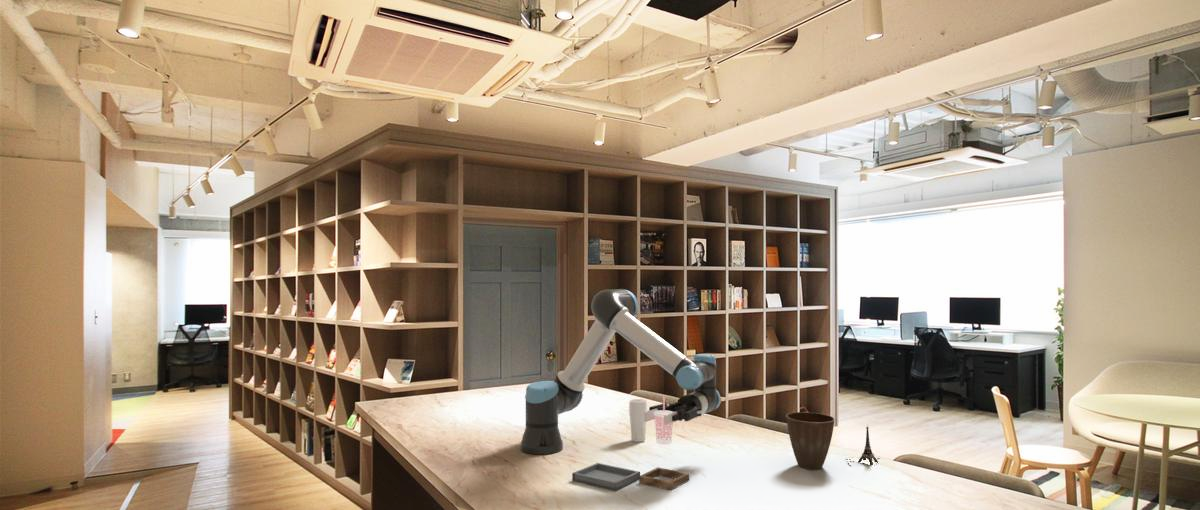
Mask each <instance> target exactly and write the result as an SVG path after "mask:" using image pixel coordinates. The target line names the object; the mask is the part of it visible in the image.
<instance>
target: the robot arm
mask: <svg viewBox="0 0 1200 510" xmlns="http://www.w3.org/2000/svg"><path fill="white" fill-rule="evenodd" d="M590 305H591V306H590V307H591V312H592V314H593V316H594V322H593V323H592V325H591V327H590V328H589V329H588V331H587V333H586V335H585V337H584V338H583V339H582V341H581V343H580V344H579V346H578V348H577V349H576V351H575V353H574V355H573V356H572V358H571V359H570V361H569V363H568V364H567V366H566V367H565V369H564V370H560V371H558V372H557V374H556V376H555V377H554V378H553V380H540V381H534V382H532V383H530V384H528V385H527V386H526V388H525V394H524V395H525V396H524V399H525V428H524V431H523V435H522V438H521V441H520V451H521V452H523V453H525V454H530V455H549V454H555V453H559V452H561V451H562V450H563V449H564V442H563V439H562V436H561V432H560V429H559V415H560V414H564V413H565V412H570V411H572V410H574V409H576V408H577V407H578V406H579V405H580V404H581V403H582V399H583V392H584V390H585V388H586V387H585V381H586V379H587V378H588V376H589V375H590V373H591V371H592V370H593V368H594V367H595V366H596V364H597V362H598V360H599V359H600V357H601V355H602V354H603V353H604V351H605V349H606V348H607V346H608V345H609V343H610V341H611V340H612V338H613V337H614V335H615V333H618V334H619V335H620V336H621V337H623V339H625V340H626V341H627V342H629V343H630V344H631V345H633V346H634V347H635V348H637V350H639V351H641V352H642V353H643V354H644V355H646V357H648V358H649V359H651V360H652V361H653V362H655V363H656V364H657V365H658V366H659V367H661V368H662V369H664V371H666V372H668V373H669V374H670V375H672V376H673V378H675V379H676V382H677V385H678V386H679V387H680V388H681V389H683V390H686V391H691V390H693V392H690V393H687V394H685V395H683V396H680V397H679V398H678V399H677V401H676V402H673V403H669V404H668V403H667V402H666V401H665V410H668V411H673V412H672V413H669V414H666V415H664V425H668V424H670V423H673V424H674V423H676V422H677V421H678V422H681V421H683V420H684V422H689V421H691V420H693V419H697V418H698V417H702V416H703V415H704V414H707V413H710V412H713V411H715V410H716V409H718V408H719V407H720V405H721V403H722V397H721V394H720V392H719V391H718V390H717V366H718V365H717V361H716V360H717V357H716V355H713V354H711V353H697V354H694V356H693V361H692V360H691V358H689V357H687V356H686V355H685V354H683V353H682V352H681V351H679V350H678V349H677V348H675V347H674V346H673V345H671V344H670V343H669V342H668V341H666V340H665V339H663V338H662V337H660V335H658V334H657V333H656V332H654V331H653V330H652V329H650V328H649V327H648V326H646V325H645V324H644V323H642V322H641V321H639V320H638V319H637V318H636V317H635V316H636V315H637V314H638V310H639V303H638V299H637V297H636V295H634V293H633V292H631V291H630V290H628V289H624V288H618V289H603V290H600V291H599V292H597V293H596V294H595V295H594V296H593V298H592V300H591V304H590ZM648 409H649V410H647V412H644V421H645V422H646V423H647V422H650V421H652V420H655V415H654V411H658V410H663V402H662V403H660V404H657V405H652V406H649V407H648Z"/></svg>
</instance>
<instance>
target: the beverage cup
mask: <svg viewBox="0 0 1200 510" xmlns="http://www.w3.org/2000/svg"><path fill="white" fill-rule="evenodd" d="M665 396H666V395H664V394H663V395H662V398H663V399H662V403H663V410H658V411H654V415H655V419H654V424H655V439H656V444H660V445H671V444H672V441H673V424H674V422H673V423H670V424H668V425H664V415H666V414H669V413H672V412H673V411H668V410H665V402H666V397H665Z"/></svg>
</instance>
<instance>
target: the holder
mask: <svg viewBox="0 0 1200 510" xmlns="http://www.w3.org/2000/svg"><path fill="white" fill-rule="evenodd" d="M661 475H663V476H662V477H665V476H668V477H667V478H670V477H673V478H672V480H671V481H669V480H668V481H667V480H663V479H660V478H659V479H658V478H656V477H658V476H661ZM675 478H676V479H675ZM688 480H689V481H690V473H689V472H688V473H687V472H683V471H678V470H673V469H668V468H665V467H664V468H662V467H659V466H658V467H655V468H653V469H651V470H650V471H647V472H645V473H643V474H640V476H639V480H638V483H639V484H641V485H645V486H651V487H656V488H659V487H661V488H660V489H664V488H666V489H665V490H668V489H671V490H670V491H672V489H673V488H675V487H676V488H678V487H680V486H682V485H683V484H682V483H684V482H685V483H687V482H689V481H688ZM686 481H687V482H686ZM685 483H684V484H685ZM681 484H682V485H681ZM679 485H680V486H679ZM677 486H678V487H677ZM676 488H675V489H676ZM673 490H674V489H673Z"/></svg>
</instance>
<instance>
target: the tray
mask: <svg viewBox="0 0 1200 510" xmlns="http://www.w3.org/2000/svg"><path fill="white" fill-rule="evenodd" d="M571 476H572V478H571V480H572V482H576V483H581V484H584V485H589V486H593V487H597V488H601V489H605V490H609V491H614V492H617V491H620V490H621V489H624V488H625V487H628V486H630V485H631V484H634V483H636V482H639V476H641V471H638V470H633V469H629V468H624V467H618V466H614V465H610V464H606V463H605V464H604V463H601V462H596V463H594V464H591V465H589V466H587V467H584V468H581V469H580V470H579V469H578V470H576V471H574V472H572V475H571Z"/></svg>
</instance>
